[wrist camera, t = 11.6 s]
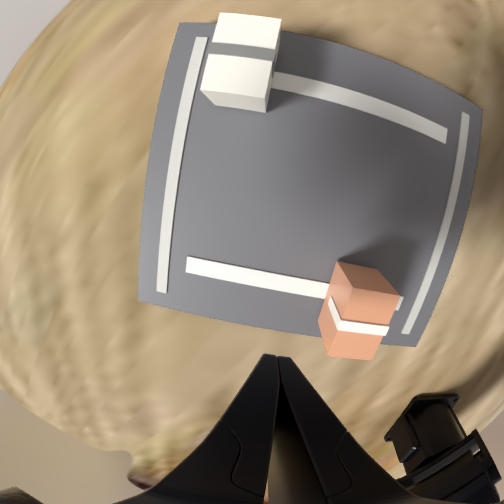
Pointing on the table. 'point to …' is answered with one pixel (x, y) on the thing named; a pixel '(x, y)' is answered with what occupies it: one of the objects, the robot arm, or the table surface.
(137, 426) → the table surface
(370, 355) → the block
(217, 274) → the console
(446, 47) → the table surface
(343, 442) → the robot arm
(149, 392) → the table surface
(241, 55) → the fader
